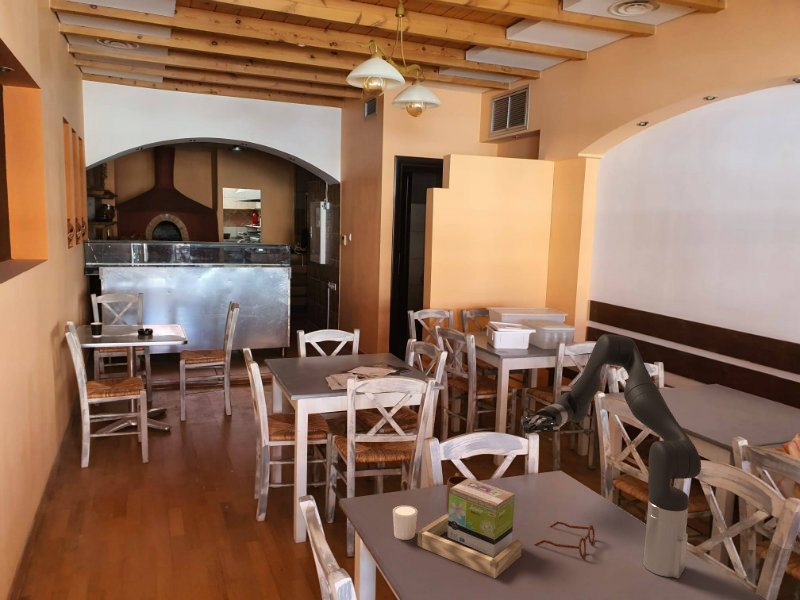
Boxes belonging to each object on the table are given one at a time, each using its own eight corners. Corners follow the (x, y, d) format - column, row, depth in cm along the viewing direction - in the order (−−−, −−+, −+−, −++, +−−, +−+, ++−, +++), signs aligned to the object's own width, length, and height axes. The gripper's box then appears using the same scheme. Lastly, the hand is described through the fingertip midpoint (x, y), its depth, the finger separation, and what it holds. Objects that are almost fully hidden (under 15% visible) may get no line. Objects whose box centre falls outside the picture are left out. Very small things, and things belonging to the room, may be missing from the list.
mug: (443, 498, 197) (444, 469, 196) (467, 498, 197) (469, 470, 196) (447, 516, 185) (448, 485, 184) (472, 516, 185) (474, 486, 184)
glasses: (581, 561, 163) (583, 543, 163) (533, 546, 170) (534, 529, 170) (595, 540, 174) (596, 523, 174) (549, 527, 181) (550, 510, 181)
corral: (521, 555, 164) (522, 541, 164) (495, 578, 154) (495, 562, 153) (446, 527, 179) (446, 513, 178) (417, 545, 168) (417, 531, 167)
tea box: (446, 538, 172) (448, 487, 170) (466, 525, 180) (468, 476, 178) (493, 558, 163) (496, 504, 161) (513, 544, 170) (516, 492, 169)
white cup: (395, 542, 169) (396, 517, 169) (389, 530, 176) (389, 506, 175) (419, 539, 171) (420, 515, 170) (412, 527, 178) (413, 503, 177)
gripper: (533, 402, 204) (507, 413, 191) (572, 410, 196) (548, 422, 183) (531, 424, 205) (506, 437, 191) (570, 433, 197) (546, 447, 183)
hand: (526, 430), depth 187 cm, fingers closed
